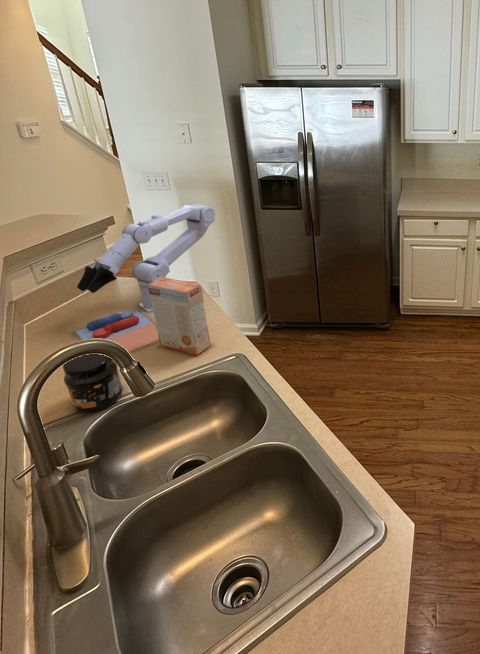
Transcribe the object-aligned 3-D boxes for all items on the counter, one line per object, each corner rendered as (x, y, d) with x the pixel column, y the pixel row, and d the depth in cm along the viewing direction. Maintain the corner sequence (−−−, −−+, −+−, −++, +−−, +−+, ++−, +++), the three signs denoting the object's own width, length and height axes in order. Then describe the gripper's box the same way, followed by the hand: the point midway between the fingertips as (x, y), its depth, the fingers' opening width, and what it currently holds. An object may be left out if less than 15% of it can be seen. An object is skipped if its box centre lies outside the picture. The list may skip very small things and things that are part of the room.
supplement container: (61, 410, 104) (48, 368, 99) (100, 382, 113) (88, 343, 109) (98, 418, 101) (85, 376, 97) (133, 389, 111) (123, 350, 107)
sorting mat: (137, 311, 148) (137, 310, 148) (169, 336, 134) (168, 335, 134) (75, 332, 135) (74, 331, 135) (103, 363, 121) (102, 361, 121)
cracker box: (212, 345, 130) (201, 283, 122) (197, 356, 125) (185, 292, 117) (175, 336, 134) (163, 275, 127) (159, 346, 129) (146, 283, 121)
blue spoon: (90, 334, 134) (88, 326, 132) (85, 328, 136) (83, 321, 135) (135, 318, 143) (134, 310, 142) (130, 313, 146) (128, 306, 145)
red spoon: (136, 319, 142) (135, 312, 141) (142, 324, 139) (141, 317, 138) (91, 336, 133) (89, 328, 132) (96, 341, 130) (94, 333, 129)
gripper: (96, 246, 138) (63, 280, 131) (116, 247, 130) (82, 284, 123) (115, 260, 143) (84, 294, 136) (135, 262, 135) (104, 297, 128)
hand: (84, 290), depth 130 cm, fingers open, 7 cm apart
